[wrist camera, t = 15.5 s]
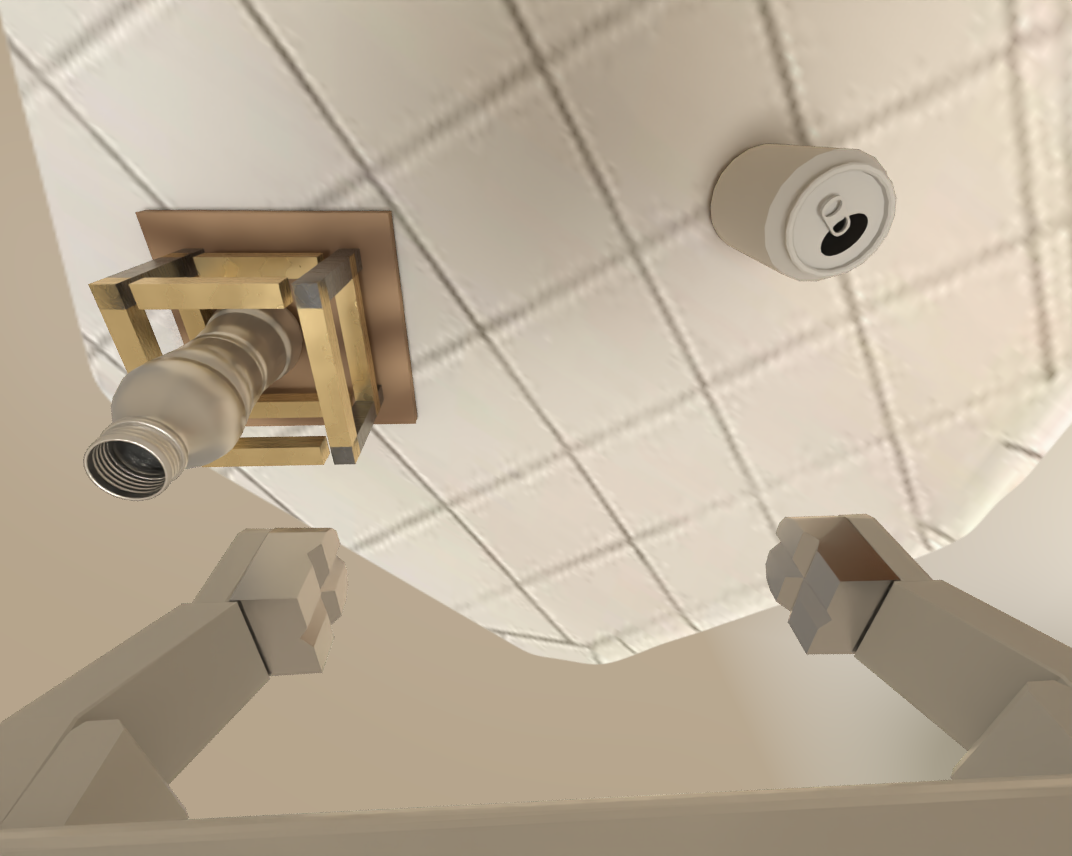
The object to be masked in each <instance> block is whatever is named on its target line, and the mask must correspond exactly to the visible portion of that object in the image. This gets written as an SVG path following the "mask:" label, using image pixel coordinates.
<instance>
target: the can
mask: <svg viewBox="0 0 1072 856" xmlns="http://www.w3.org/2000/svg"><path fill="white" fill-rule="evenodd" d="M710 207H711V218H712V224H713V226H714V228H715V230H716V232H717V235H718V236H719V237H720V238H721V239H722V240H723V241H724V242H725V243H726V244H727V245H729V246H731V247H732V248H734V249H736V250H738V251H740V252H742V253H744V254H746V255H747V256H749V257H751V258H753V259H755V260H757V261H759V262H761V263H762V264H764V265H766V266H768V267H770V268H772V269H774V270H776V271H777V272H779V273H781V274H783V275H785V276H788V277H790V278H793V279H795V280H798V281H820V280H823V279H827V278H830V277H834V276H837V275H841V274H844V273H847V272H849V271H851V270H852V269H854V268H856V267H858V266H859V265H861V264H863V263H864V262H865V261H866V260H867V259H868V258H869V257H870V256H871V255H872V254H873V253H874V252H875V251H876V250H877V249H878V248H879V246H880V245H881V243H882V242H883V240H884V239H885V237H886V236H887V234H888V232H889V230H890V227H891V224H892V222H893V219H894V216H895V207H896V195H895V191H894V187H893V183H892V181H891V180H890V179H889V177H888V176H887V173H886V171H885V169H884V168H883V167H882V166H881V164H880V163H879V162H878V160H877V159H876V158H875V157H873V156H871V155H869V154H867V153H865V152H863V151H861V150H859V149H846V148H830V147H815V146H799V145H783V144H763V145H759V146H756V147H753V148H750V149H748V150H746V151H745V152H744V153H742V154H741V155H739V156H738V157H736V158H735V159H734V160H733V161H732V162H731V163H730V164H729V165H728V167H727V168H726V169H725V170H724V171H723V172H722V174H721V176H720V178H719V180H718V182H717V184H716V186H715V188H714V191H713V196H712V201H711V206H710Z"/></svg>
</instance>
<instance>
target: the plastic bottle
mask: <svg viewBox="0 0 1072 856" xmlns="http://www.w3.org/2000/svg"><path fill="white" fill-rule="evenodd" d="M302 342H303V338H302V331H301V328H300V325H299V323H298V321H297V319H296V318H295V317H294V315H293V314H292V313H291V312H290V311H289V310H288V309H287V308H285V309H217V310H216V311H215V313H214V314H213V315H212V316H211V318H210V320H209V321H208V323H207V325H206V327H205V328H204V329H203V330H202V331H201V332H200V333H199V334H198V335H197V336H196V337H195V338H194V339H193V340H191V341H189V342H188V343H186V344H185V345H183V346H181V347H180V348H178V349H176V350H174V351H171V352H169V353H167V354H164V355H162V356H160V357H157V358H155V359H152V360H150V361H148V362H146V363H144V364H143V365H141V366H139V367H137V368H135V369H134V370H132V371H130V372H129V373H128V374H127V375H126V376H125V377H124V378H123V379H122V381H121V383H120V385H119V386H118V388H117V390H116V392H115V394H114V397H113V400H112V405H111V412H112V423H111V425H109V426H108V427H107V428H106V429H105V430H104V431H103V432H102V434H101V435H100V437H99V438H98V439H97V440H96V441H95V442H93V443H92V444H91V445H90V446H89V448H88V449H87V451H86V452H85V454H84V459H83V463H84V468H85V471H86V473H87V475H88V477H89V478H90V480H91V481H92V482H93V483H94V484H95V485H96V486H97V487H99V488H100V489H101V490H103V491H105V492H106V493H108V494H110V495H112V496H115V497H117V498H121V499H124V500H131V501H143V500H148V499H152V498H154V497H156V496H158V495H160V494H161V493H162V492H163V491H164V490H166V489H167V487H168V486H169V485H170V484H171V482H172V481H174V480H175V479H177V478H178V477H179V476H180V475H181V473H182V472H183V471H184V469H189V468H196V467H201V466H204V465H207V464H209V463H211V462H213V461H215V460H217V459H219V458H220V457H222V456H224V455H226V454H227V453H228V452H229V451H230V450H232V449H233V447H234V446H235V445H236V443H237V442H238V440H239V438H240V436H241V435H242V433H243V430H244V428H245V426H246V423H247V421H248V418H249V416H250V414H251V411H252V409H253V407H254V405H255V404H256V402H257V401H258V399H259V398H260V396H261V394H262V393H263V392H264V391H265V390H266V389H267V388H268V387H269V386H270V385H271V384H272V383H273V382H275V381H276V380H278V379H280V378H282V377H283V376H284V375H285V374H287V373H288V372H289V371H290V370H291V369H292V368H293V367H294V366H295V364H296V363H297V361H298V359H299V356H300V353H301V349H302Z"/></svg>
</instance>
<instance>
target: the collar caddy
mask: <svg viewBox="0 0 1072 856" xmlns="http://www.w3.org/2000/svg"><path fill="white" fill-rule="evenodd" d="M362 269H363V267H362V261H361V255H360V249H338V250H337V251H335V252H334V253H333V254H331V255H330V256H329V257H327V258H326V259H324V254H323V253H205V250H204V249H181V250H178V251H176V252H173V253H170V254H168V255H165V256H162V257H160V258H157V259H154V260H152V261H149V262H146V263H144V264H141V265H138V266H136V267H133V268H130V269H128V270H125V271H122V272H120V273H117V274H114V275H112V276H109V277H107V278H104V279H101V280H99V281H96V282H93V283H91V284H88V285H89V287H90V289H91V291H92V294H93V296H94V298H95V300H96V303H97V305H98V307H99V309H100V312H101V314H102V316H103V318H104V321H105V323H106V325H107V327H108V330H109V332H110V334H111V336H112V339H113V341H114V343H115V345H116V348H117V350H118V352H119V354H120V357H121V359H122V361H123V363H124V366H125V368H126V370H127V372H128V373H129V372H130V371H132V370H134V369H135V368H137V367H139V366H141V365H143V364H144V363H146V362H148V361H150V360H152V359H155V358H157V357H160V356H162V353H161V350H160V347H159V345H158V342H157V340H156V337H155V335H154V332H153V330H152V327H151V325H150V322H149V320H148V317H147V315H146V312H145V310H144V309H179V312H180V315H181V318H182V320H183V323H184V326H185V329H186V332H187V334H188V337H189V340H190V341H191V340H193V339H194V338H195V337H196V336H197V335H198V334H199V333H200V332H201V331H202V330H203V329H204V328H205V327H206V325H207V323H208V321H209V320H210V318H211V316H212V315H213V312H212V309H285V308H286V307H287V306H288V305H290V304H291V303H292V302H293V297H292V293H291V289H290V285H289V281H288V279H297V280H296V281H294V282H293V283H291V285H292V289H293V293H294V297H295V302H296V306H297V310H298V314H299V318H300V323H301V327H302V331H303V335H304V339H305V344H306V348H307V352H308V356H309V360H310V365H311V369H312V373H313V377H314V381H315V386H316V390H317V393H300V394H261V396H260V398H259V399H258V401H257V402H256V404H255V405H254V407H253V409H252V411H251V414H250V416H249V418H307V417H323V419H324V423H325V428H326V432H327V436H328V440H329V444H330V449H331V453H332V457H333V461H334V464H356V462H357V459H358V457H359V455H360V453H361V450H362V448H363V446H364V444H365V441H366V439H367V437H368V435H369V433H370V430H371V428H372V426H373V424H374V421H375V419H376V417H377V415H378V412H379V410H380V408H381V406H382V404H383V401H384V396H383V390H382V385H377V384H376V378H375V372H374V366H373V360H372V354H371V348H370V343H369V337H368V331H367V325H366V319H365V313H364V307H363V301H362V295H361V289H360V283H359V277H358V273H359V272H360V271H361V270H362ZM334 296H335V299H336V304H337V309H338V314H339V319H340V324H341V329H342V334H343V339H344V345H345V350H346V355H347V360H348V365H349V370H350V375H351V380H352V385H353V390H354V395H355V403H354V405H353V400H352V395H351V393H348V388H347V383H346V378H345V374H344V369H343V364H342V359H341V354H340V349H339V344H338V339H337V334H336V329H335V324H334V319H333V314H332V309H331V304H330V300H331V299H332V298H333V297H334ZM329 454H330V451H329V447H328V443H327V439H326V436H303V437H246V438H239V440H238V442H237V443H236V445H235V446H234V447H233V449H232V450H230V451H229V452H228V453H227V454H226V455H224V456H222V457H220V458H219V459H217V460H215V461H213V462H211V463H209V464H207V465H204V466H202V467H234V466H284V465H324V463H325V461H326V460H327V458H328V456H329Z"/></svg>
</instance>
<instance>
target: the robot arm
mask: <svg viewBox="0 0 1072 856" xmlns="http://www.w3.org/2000/svg"><path fill="white" fill-rule="evenodd" d="M776 535H777V536H778V538H779V540H780V543H779V544H777V545H776V546H775V547H774V548H773V549H771V550H770V551H769V554H768V558H767V561H766V579H767V582H768V585H769V588H770V591H771V593H772V594H773V596H774V598H775V600H776V602H778V603H779V604H781V605H782V606H784V607H785V608H786V609H788V610H789V611H790V615H789V619H788V623H789V624H790V627H791V628H792V630H793V632H794V633H795V635H796V637H797V639H798V640H799V642H800V644H801V646H802V647H803V649H804V651H805V653H806V654H855V655H854V657H855V658H856V659H858V660H859V661H860V662H861V663H863V664H864V665H865V666H866V667H867V668H868V669H870V670H871V671H872V672H873V673H875V674H876V675H877V676H878V677H879V678H881V679H882V680H883V681H884V682H886V683H887V684H888V685H889V686H890V687H892V688H893V689H894V690H895V691H896V692H897V693H899V694H900V695H901V696H902V697H903V698H905V699H906V700H907V701H908V702H909V703H911V704H912V705H913V706H914V707H915V708H917V709H918V710H919V711H920V712H921V713H923V714H924V715H925V716H926V717H927V718H929V719H930V720H931V721H932V722H933V723H935V724H936V725H937V726H938V727H939V728H941V729H942V730H943V731H944V732H945V733H947V734H948V735H949V736H950V737H952V738H953V739H954V740H955V741H956V742H957V743H959V744H960V745H961V746H962V747H963V748H965V749H966V750H967V751H968V752H967V753H966V754H965V755H964V756H963V757H962V759H961V760H960V761H959V762H958V763H957V764H956V766H955V767H954V768H953V771H952V774H951V779H952V780H941V781H921V782H902V783H883V784H863V785H843V786H823V787H803V788H784V789H766V790H765V789H764V790H744V791H725V792H705V793H686V794H666V795H646V796H628V797H610V798H591V799H590V798H589V799H570V800H553V801H552V800H551V801H533V802H532V801H531V802H514V803H495V804H494V803H493V804H474V805H456V806H435V807H417V808H399V809H398V808H397V809H378V810H359V811H340V812H320V813H302V814H282V815H262V816H243V817H224V818H205V819H188V818H189V816H188V813H187V811H186V808H185V807H184V805H183V804H182V803H181V801H180V800H179V799H178V797H177V796H176V795H175V793H174V792H173V791H172V789H171V788H170V787H169V784H170V783H171V782H172V781H173V780H174V779H175V778H176V777H177V775H178V774H179V773H180V772H181V771H182V770H183V769H184V768H185V767H186V766H187V765H188V764H189V763H190V762H191V761H192V760H193V759H194V758H195V757H196V756H197V755H198V753H200V752H201V750H202V749H203V748H204V747H205V746H206V745H207V744H208V743H209V742H210V741H211V740H212V739H213V738H214V737H215V736H216V735H217V734H218V733H219V732H220V731H221V730H222V729H223V728H224V727H225V725H226V724H227V723H228V722H229V721H230V720H231V719H232V718H233V717H234V716H235V715H236V714H237V713H238V712H239V711H240V710H241V709H242V708H243V707H244V705H246V704H247V703H248V702H249V700H250V699H251V698H252V697H253V696H254V695H255V694H256V693H257V692H258V691H259V690H260V689H261V688H262V687H263V686H264V685H265V684H266V683H267V682H268V681H269V679H270V677H269V676H278V675H294V674H309V673H322V672H323V669H324V666H325V663H326V660H327V657H328V655H329V652H330V649H331V646H332V643H333V640H334V635H333V631H332V628H331V624H333V623H334V622H335V621H336V620H337V619H338V618H339V617H340V616H341V615H342V613H343V610H344V606H345V603H346V598H347V590H348V575H347V569H346V564H345V562H344V561H342V560H341V559H340V558H339V557H338V556H336V554H337V552H338V549H339V547H340V541H339V538H338V534H337V531H336V530H334V529H332V528H275V529H245V530H243V531H241V532H240V533H238V534H237V536H236V537H235V539H234V540H233V542H232V543H231V545H230V546H229V548H228V549H227V551H226V552H225V554H224V555H223V557H222V558H221V560H220V561H219V563H218V564H217V566H216V567H215V569H214V570H213V572H212V573H211V575H210V576H209V578H208V579H207V581H206V582H205V584H204V586H203V587H202V588H201V590H200V591H199V593H198V595H197V596H196V598H195V599H194V601H193V602H192V603H183V604H181V605H179V606H178V607H176V608H174V609H173V610H172V611H170V612H168V613H167V614H165V615H164V616H162V617H161V618H159V619H158V620H156V621H155V622H153V623H152V624H150V625H149V626H147V627H145V628H144V629H143V630H141V631H140V632H138V633H136V634H135V635H133V636H132V637H130V638H129V639H127V640H126V641H124V642H123V643H121V644H120V645H118V646H117V647H115V648H114V649H112V650H110V651H109V652H107V653H106V654H104V655H103V656H101V657H100V658H98V659H97V660H95V661H94V662H92V663H91V664H89V665H88V666H86V667H84V668H83V669H81V670H80V671H78V672H77V673H75V674H74V675H72V676H71V677H69V678H68V679H66V680H65V681H63V682H62V683H60V684H58V685H57V686H55V687H54V688H52V689H51V690H49V691H48V692H46V693H45V694H43V695H42V696H40V697H39V698H37V699H36V700H34V701H33V702H31V703H30V704H28V705H26V706H25V707H24V708H22V709H21V710H19V711H17V712H16V713H14V714H13V715H11V716H10V717H8V718H7V719H5V720H4V721H2V722H1V724H0V856H1072V648H1070V647H1069V646H1067V645H1065V644H1063V643H1061V642H1059V641H1057V640H1055V639H1053V638H1052V637H1050V636H1048V635H1046V634H1044V633H1042V632H1040V631H1038V630H1036V629H1034V628H1032V627H1031V626H1028V625H1027V624H1025V623H1023V622H1021V621H1019V620H1017V619H1015V618H1013V617H1011V616H1009V615H1008V614H1006V613H1004V612H1002V611H1000V610H998V609H996V608H994V607H992V606H990V605H989V604H987V603H985V602H983V601H981V600H979V599H977V598H975V597H973V596H971V595H969V594H968V593H966V592H964V591H962V590H960V589H958V588H956V587H954V586H952V585H950V584H949V583H947V582H944V581H943V580H932V578H931V577H930V576H929V575H928V574H927V573H926V572H925V571H924V570H923V569H922V568H921V567H920V566H919V565H918V563H916V561H915V560H914V559H913V558H912V557H911V556H910V555H909V554H908V553H907V552H906V551H905V550H904V549H903V548H902V547H901V545H900V544H899V543H898V542H897V541H896V540H895V539H894V538H893V537H892V536H891V535H890V534H889V533H888V532H887V531H886V530H885V529H884V527H883V526H882V525H881V524H880V523H879V522H878V521H877V520H876V519H875V518H873V517H871V516H869V515H867V514H852V515H838V516H804V517H785V518H784V519H783V520H782V521H781V522H780V523H779V526H778V528H777V531H776Z"/></svg>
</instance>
